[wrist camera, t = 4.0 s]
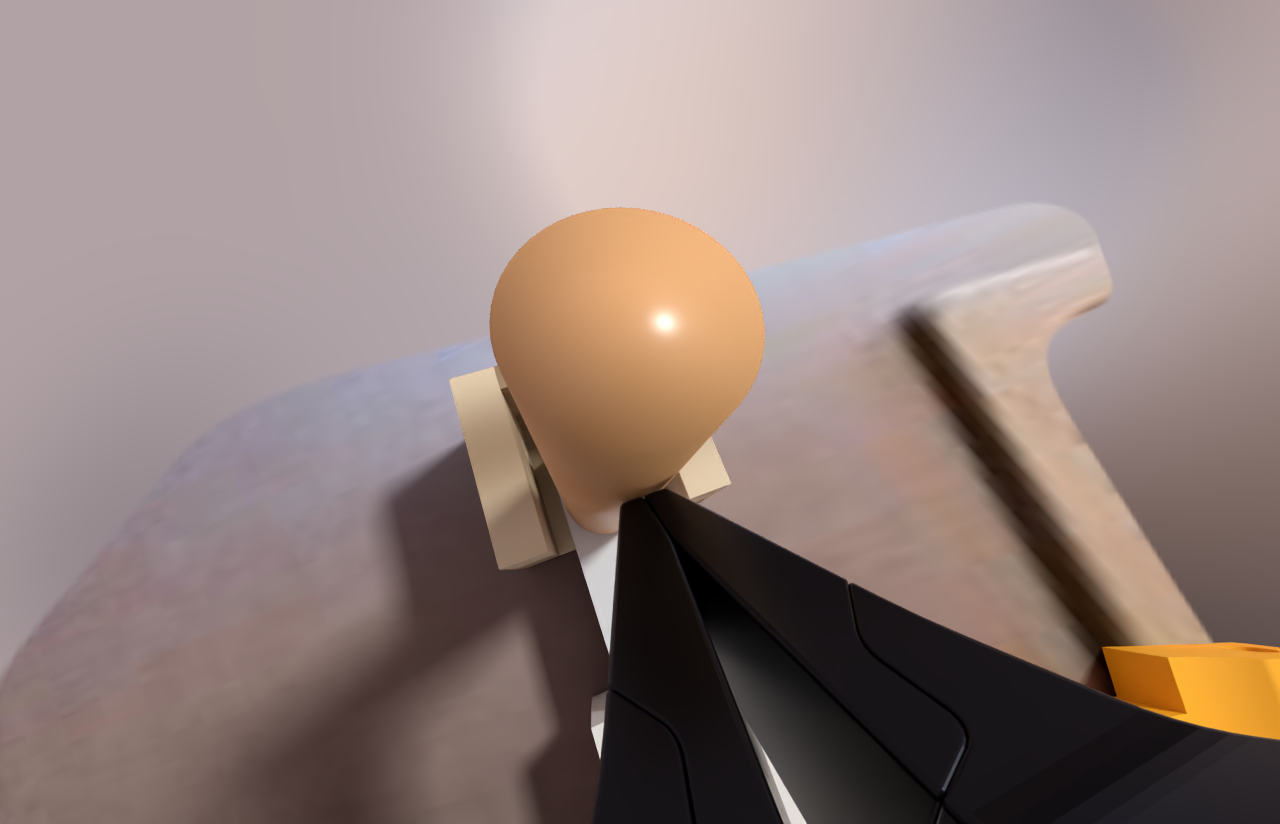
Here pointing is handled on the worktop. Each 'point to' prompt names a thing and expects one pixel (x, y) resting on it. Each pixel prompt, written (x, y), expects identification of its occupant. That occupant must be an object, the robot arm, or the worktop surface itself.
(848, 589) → the robot arm
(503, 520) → the socket
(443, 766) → the worktop surface
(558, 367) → the slide bolt
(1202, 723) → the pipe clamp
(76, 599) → the worktop surface
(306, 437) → the worktop surface
